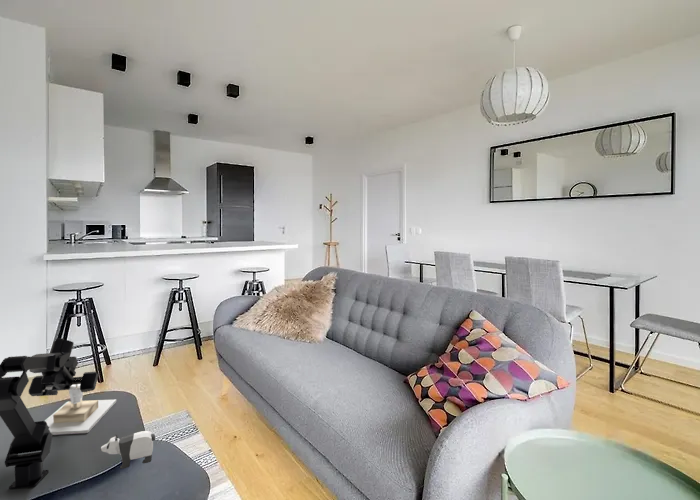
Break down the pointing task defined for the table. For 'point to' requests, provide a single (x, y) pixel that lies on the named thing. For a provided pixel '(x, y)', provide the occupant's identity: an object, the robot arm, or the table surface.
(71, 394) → the milkshake
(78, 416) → the plinth
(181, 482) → the table surface
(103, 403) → the baseplate
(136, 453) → the giant panda
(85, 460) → the table surface
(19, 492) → the table surface
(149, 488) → the table surface
